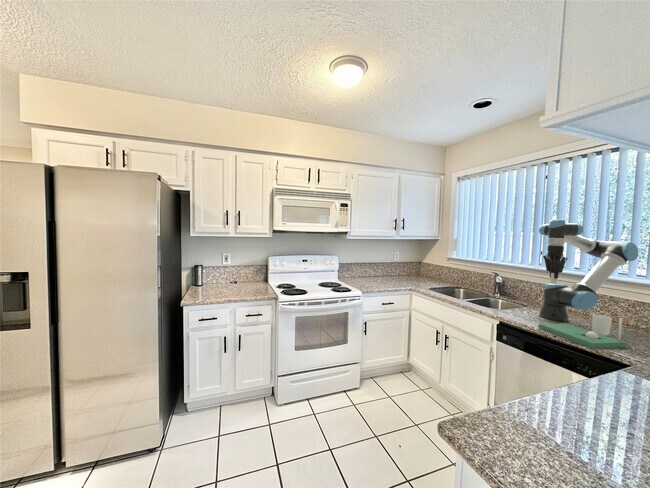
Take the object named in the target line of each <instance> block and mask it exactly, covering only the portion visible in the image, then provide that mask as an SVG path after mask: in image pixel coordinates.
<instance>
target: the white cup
mask: <svg viewBox="0 0 650 488" xmlns="http://www.w3.org/2000/svg"><path fill="white" fill-rule="evenodd" d="M612 320H613V318H612V317H611V316H608V315H603V314H598V313H597V314H596V313H593V314H591V327H592V328H591V331H593V332H596V333H599V334H602V335H605V336H608V337H609V336H610V332H611V327H612Z"/></svg>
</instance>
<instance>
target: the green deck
mask: <svg viewBox="0 0 650 488" xmlns="http://www.w3.org/2000/svg"><path fill="white" fill-rule="evenodd" d="M618 321H619V322H618V333H617V338H615V337H611V336H609V335H608V336H605V335H602V334H599V333H596V332H595V333H596V334H598V336H599V339H592V338H588V337H586V336H585V335H586V333H587V332H590V331H591V332H593V331H592V330H589V329H586V328H583V327H580V326H577V325H574V324H572V323H571V324H570V323H567V322H566V323H565V322H564V323H561V322H560V323H538V329H541V330H542V331H546V332H548V333H551V334H552V335H553V334H554V335H556V336H560V337H562V338H564V339H567V340H570V341H573V342H575V343H578V344H580V345H583V346H585V347H587V348H590V349H610V348H612V349H613V348H614V349H615V348H617V349H618V347H620V348H626V347H627V346H626V345H627V342H625V341H623V340H621V339H622V332H623V331H622V329H623V323H624V324H625V323H628V322H629V318H628V317H619V320H618Z"/></svg>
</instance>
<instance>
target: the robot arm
mask: <svg viewBox="0 0 650 488" xmlns="http://www.w3.org/2000/svg"><path fill="white" fill-rule="evenodd" d="M538 232H539V234H540V235H541V236H547V249H546V250H547V253H546V255H543V256H542V257H543V259H544V264H545V265H544V266H545V268H546V269H545V270H546V272H549V279H550V283H547V284H545V285H544V289H543V304H542V307H541V308H540V310H539V315H538V316H539V317H541V318H544V319H548V320H552V321H556V322H557V321H558V322H568V321H569V320H570V317H569V315H568V312H567V307H571V308H574V309H576V310H582V311H588V310H591V309H594V307H595V306H596V305H597V303H598V296H597V295H598V294H597V291H598V290H599V289H600V288H601V287H602V285H604V283H605V282H606V281H607V280H608V279H609V277H610V276H611V275H612V274H613V273H614V272H615V270H617V268H619V266H620V267H621V266H624V265H625V264H626V263H627V262H633V261H635V260H637V259H638V256H639V248H638V246H637V245H636V244H635V243H634V242H631V241H611V240H608V241H607V240H597V239H596V240H595V239H593V238H586V237H584V236H582V234H583V233H584V226H583V225H582V224H580V223H573V222H572V223H571V222H570V223H566V220H565V219H551V220H549V222H548V223H544V224H541V225H540V226H539V228H538ZM565 243H566V244H568V245H570V246H573V247H575V248H577V249H579V250H580V251H581V252H583V253H585V254H587V255H590V256H592V257H595V258H598V259H600V260H599V261H598V262H597V263H596V264H595V265H594V267H592V269H591V270H590V271H589V272H588V273H587V274H586V276H584V278H583V279H582V280H581V281H580V282H579V283H574V284H573V286H571V287H569V285H568V284H560V283H557V282H558V280H557V279H559V274H560V273H561V274H562V273H563V272H564V271H563V270H564V267H565V265H566V263H567V261H568V259H569V258H568V257H566V256H565V255H564V249H565V247H564V245H565Z"/></svg>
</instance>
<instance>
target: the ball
mask: <svg viewBox="0 0 650 488" xmlns="http://www.w3.org/2000/svg"><path fill="white" fill-rule="evenodd" d="M589 331H590V332H587V333H586V335H585V336H586V337H588V338H592V339H599V336H598V334H596V333H595V332H591V331H592V330H589Z"/></svg>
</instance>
